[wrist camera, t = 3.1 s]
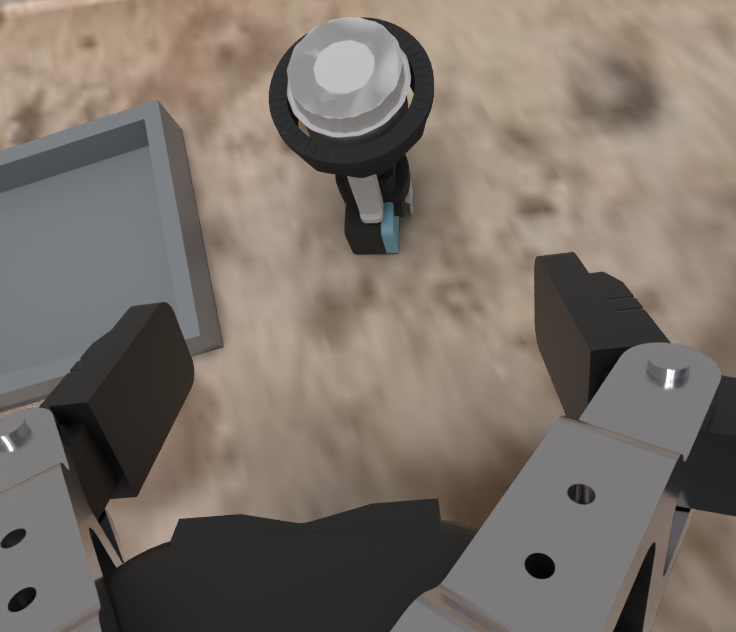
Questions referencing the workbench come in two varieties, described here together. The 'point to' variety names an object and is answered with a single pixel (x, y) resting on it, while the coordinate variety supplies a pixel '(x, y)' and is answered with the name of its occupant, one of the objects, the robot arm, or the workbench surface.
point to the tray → (96, 244)
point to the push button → (357, 118)
